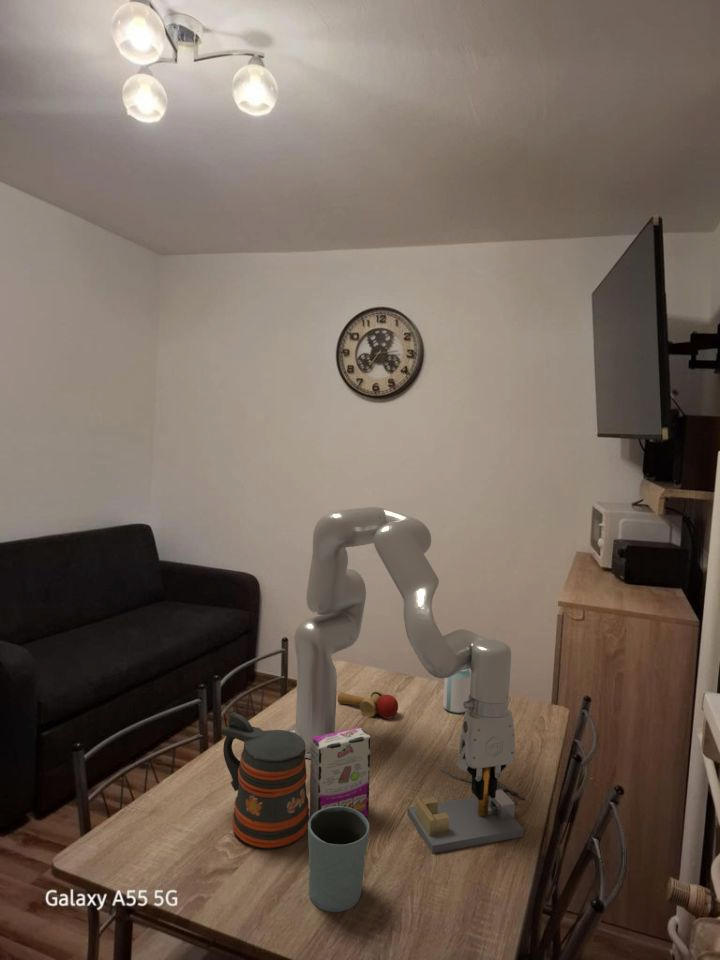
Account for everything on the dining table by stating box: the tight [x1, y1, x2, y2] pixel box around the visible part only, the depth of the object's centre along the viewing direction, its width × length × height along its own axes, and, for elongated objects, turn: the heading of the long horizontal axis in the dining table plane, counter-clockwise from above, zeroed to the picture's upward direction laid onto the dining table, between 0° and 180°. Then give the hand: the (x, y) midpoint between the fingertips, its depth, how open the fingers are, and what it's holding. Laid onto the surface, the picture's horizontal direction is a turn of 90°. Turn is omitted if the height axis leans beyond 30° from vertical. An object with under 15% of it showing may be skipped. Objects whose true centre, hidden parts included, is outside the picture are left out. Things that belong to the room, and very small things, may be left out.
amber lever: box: [478, 767, 498, 817], centre depth 124 cm, size 7×2×10 cm, turn 108°
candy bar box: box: [309, 726, 371, 819], centre depth 124 cm, size 11×5×16 cm, turn 117°
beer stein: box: [221, 711, 310, 849], centre depth 121 cm, size 19×15×20 cm
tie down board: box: [407, 796, 525, 854], centre depth 123 cm, size 19×12×2 cm, turn 108°
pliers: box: [439, 766, 526, 806], centre depth 140 cm, size 10×1×20 cm
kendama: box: [337, 690, 399, 719], centre depth 172 cm, size 8×6×18 cm
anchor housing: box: [488, 790, 515, 821], centre depth 125 cm, size 3×5×3 cm, turn 18°
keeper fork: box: [415, 796, 450, 836], centre depth 121 cm, size 4×7×3 cm, turn 18°
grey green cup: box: [307, 806, 370, 913], centre depth 103 cm, size 10×10×12 cm
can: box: [442, 669, 471, 714], centre depth 175 cm, size 7×7×12 cm
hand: (483, 794), depth 124 cm, fingers closed on amber lever, 2 cm apart
